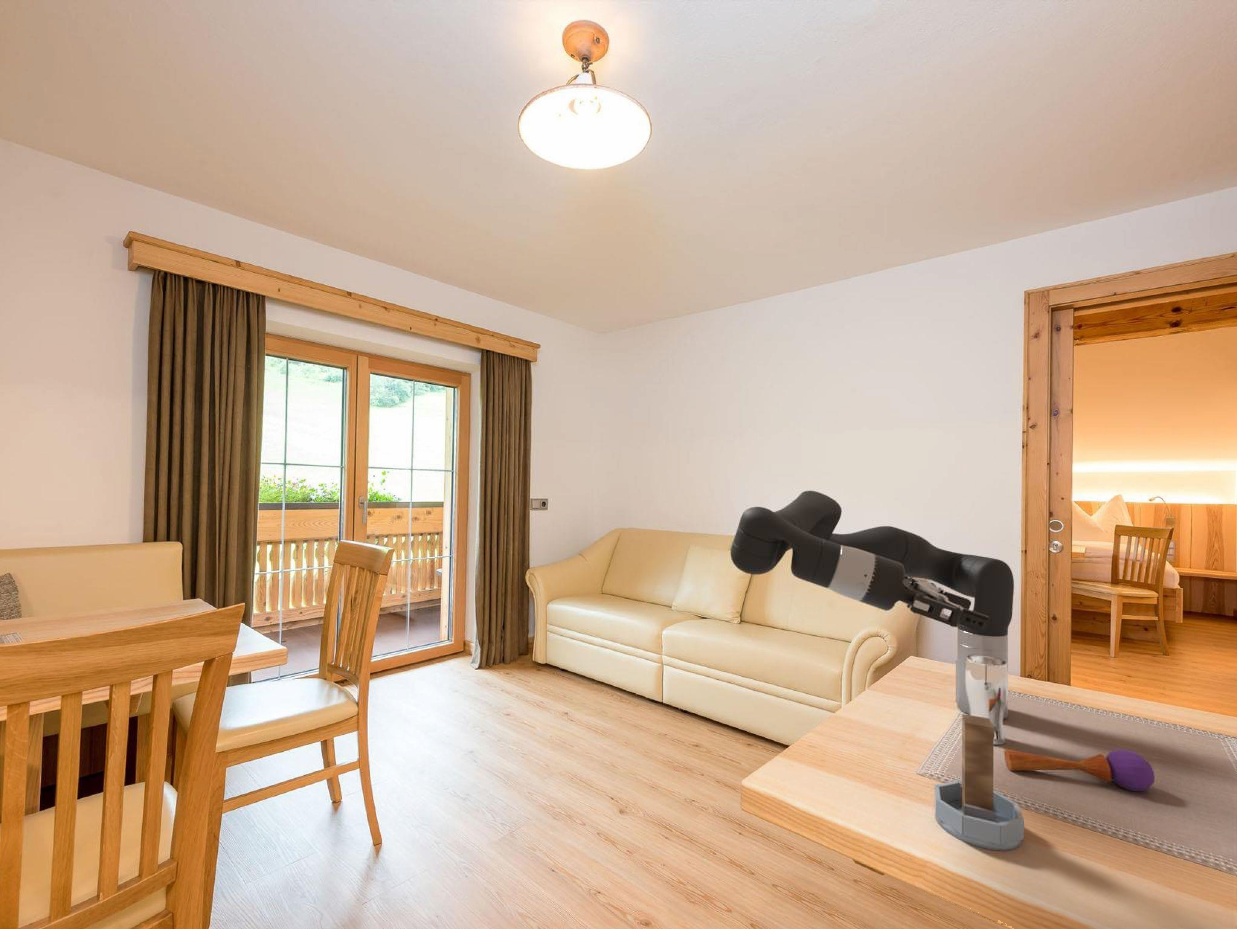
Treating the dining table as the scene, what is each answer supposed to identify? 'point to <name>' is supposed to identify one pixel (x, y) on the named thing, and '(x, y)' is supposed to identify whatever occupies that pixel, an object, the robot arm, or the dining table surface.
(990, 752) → the wooden block
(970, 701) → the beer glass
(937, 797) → the blue-grey octagonal holder
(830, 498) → the robot arm
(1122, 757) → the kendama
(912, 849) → the dining table surface
